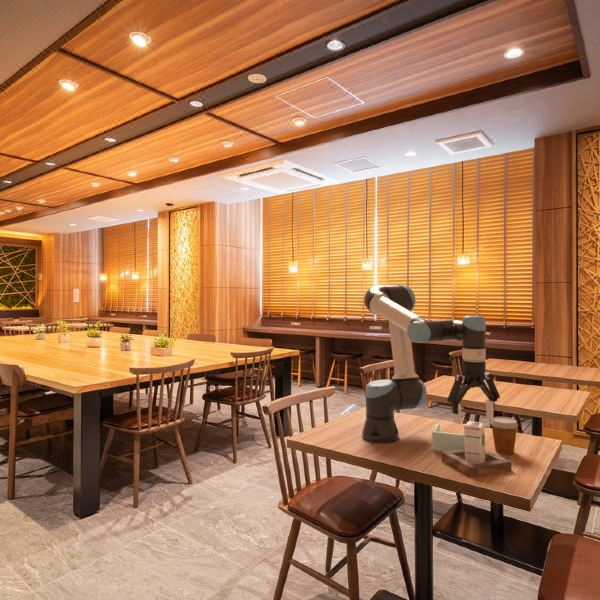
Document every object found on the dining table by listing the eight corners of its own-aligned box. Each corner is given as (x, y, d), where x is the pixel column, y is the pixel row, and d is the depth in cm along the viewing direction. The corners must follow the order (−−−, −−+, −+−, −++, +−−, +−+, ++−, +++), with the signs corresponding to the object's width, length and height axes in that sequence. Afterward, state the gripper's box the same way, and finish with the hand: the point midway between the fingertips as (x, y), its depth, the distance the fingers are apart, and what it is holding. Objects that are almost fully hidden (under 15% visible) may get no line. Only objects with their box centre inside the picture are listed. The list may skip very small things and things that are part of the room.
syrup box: (482, 469, 148) (482, 427, 148) (464, 466, 152) (463, 424, 151) (485, 464, 153) (485, 422, 153) (467, 461, 156) (467, 420, 156)
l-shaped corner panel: (465, 455, 163) (465, 435, 163) (432, 451, 169) (432, 431, 168) (468, 445, 174) (468, 426, 174) (437, 441, 179) (436, 423, 179)
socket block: (441, 460, 158) (441, 451, 158) (478, 454, 163) (478, 446, 163) (472, 477, 142) (471, 468, 142) (511, 470, 147) (511, 461, 147)
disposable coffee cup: (519, 449, 167) (519, 418, 167) (517, 457, 158) (517, 424, 158) (492, 445, 171) (492, 415, 171) (489, 453, 163) (488, 421, 163)
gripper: (450, 364, 145) (450, 427, 145) (511, 359, 152) (510, 420, 153) (436, 360, 152) (436, 421, 153) (495, 356, 160) (495, 414, 160)
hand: (473, 421), depth 153 cm, fingers open, 13 cm apart
